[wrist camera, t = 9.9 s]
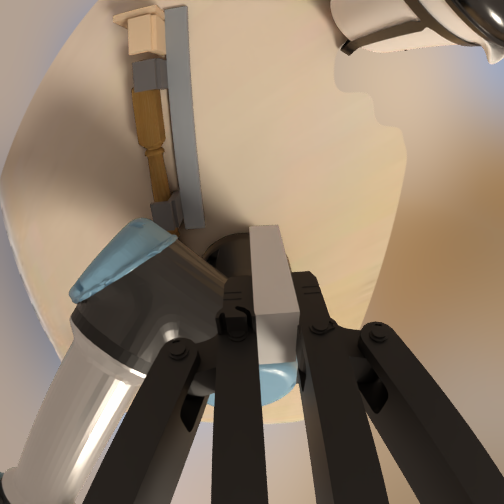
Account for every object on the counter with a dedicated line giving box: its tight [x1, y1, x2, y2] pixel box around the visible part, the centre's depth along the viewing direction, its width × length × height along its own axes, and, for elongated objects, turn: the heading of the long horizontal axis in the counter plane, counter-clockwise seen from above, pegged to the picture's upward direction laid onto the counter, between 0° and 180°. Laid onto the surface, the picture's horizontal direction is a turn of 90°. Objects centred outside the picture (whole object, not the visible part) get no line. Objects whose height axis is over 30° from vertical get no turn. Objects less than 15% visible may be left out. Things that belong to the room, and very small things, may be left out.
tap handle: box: [131, 60, 180, 239], centre depth 37 cm, size 3×3×30 cm
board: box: [113, 5, 205, 231], centre depth 33 cm, size 33×9×6 cm, turn 2°
